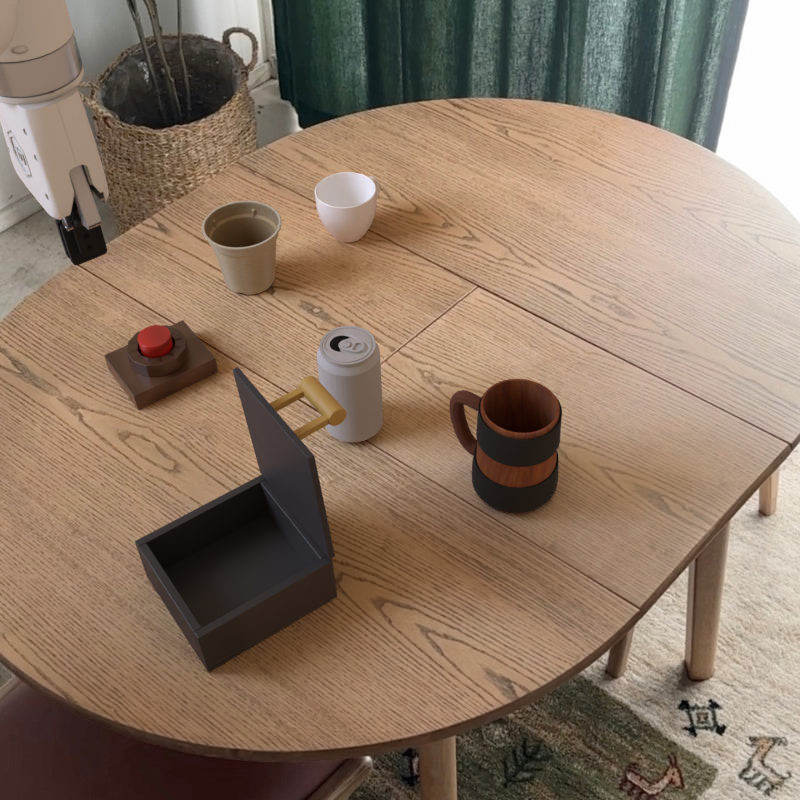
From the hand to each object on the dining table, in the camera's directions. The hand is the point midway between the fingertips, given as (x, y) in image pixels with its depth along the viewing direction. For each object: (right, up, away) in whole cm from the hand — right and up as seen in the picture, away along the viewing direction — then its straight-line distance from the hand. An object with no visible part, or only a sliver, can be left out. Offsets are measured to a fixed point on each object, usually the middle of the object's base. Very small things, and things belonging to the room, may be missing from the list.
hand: (87, 254), depth 92 cm
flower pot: (+9, +2, +39) cm, 40 cm away
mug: (+37, -21, +16) cm, 46 cm away
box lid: (+17, -19, +1) cm, 25 cm away
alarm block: (0, -9, +29) cm, 30 cm away
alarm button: (0, -7, +26) cm, 27 cm away
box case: (+12, -30, +8) cm, 34 cm away
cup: (+21, +10, +46) cm, 52 cm away
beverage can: (+22, -15, +22) cm, 35 cm away
